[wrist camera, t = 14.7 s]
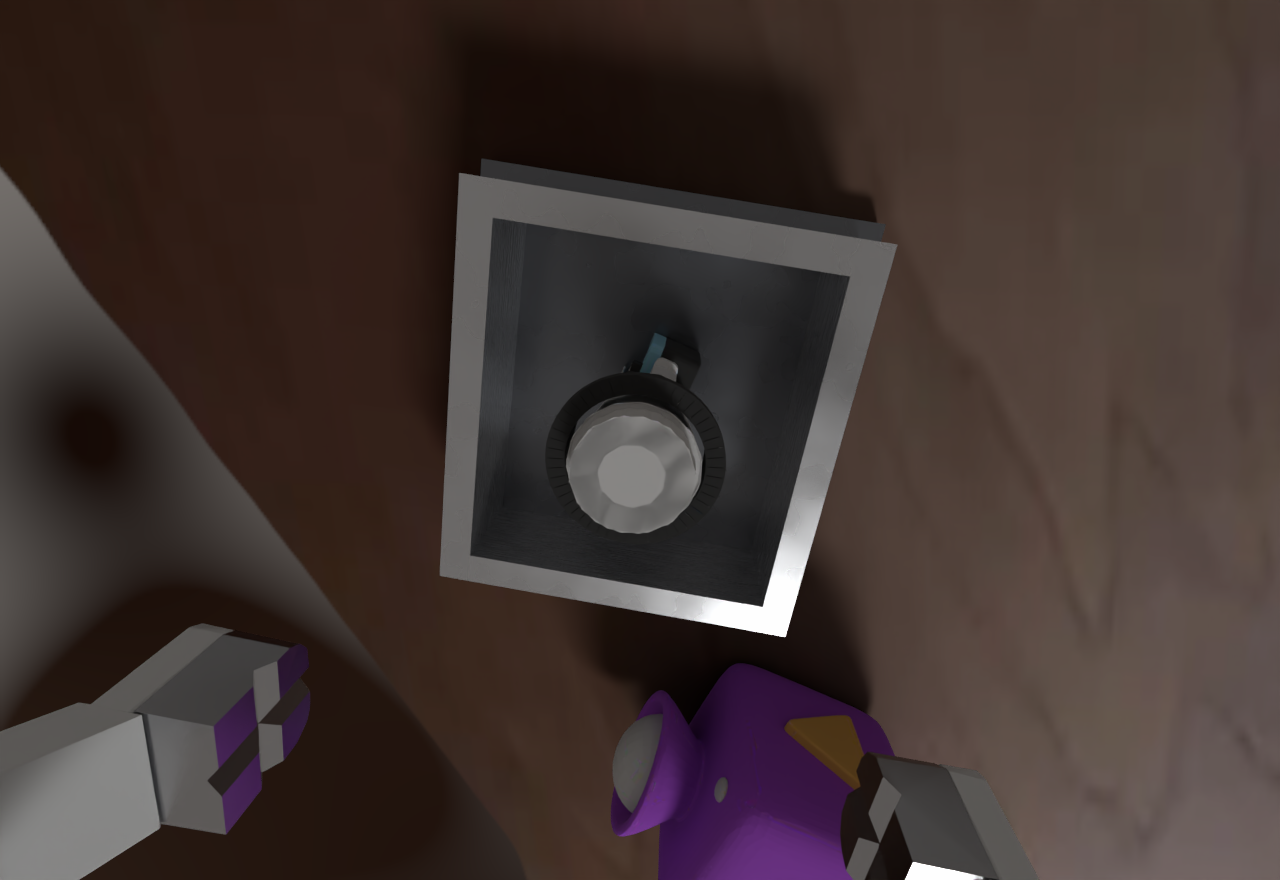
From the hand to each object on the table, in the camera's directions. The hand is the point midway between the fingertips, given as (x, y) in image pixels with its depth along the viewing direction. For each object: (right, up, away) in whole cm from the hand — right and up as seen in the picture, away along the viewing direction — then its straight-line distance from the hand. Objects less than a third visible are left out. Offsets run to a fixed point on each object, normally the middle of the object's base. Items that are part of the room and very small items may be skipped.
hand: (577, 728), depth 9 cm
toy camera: (+7, -12, +25) cm, 28 cm away
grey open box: (+1, +6, +18) cm, 20 cm away
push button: (+1, +6, +18) cm, 19 cm away
